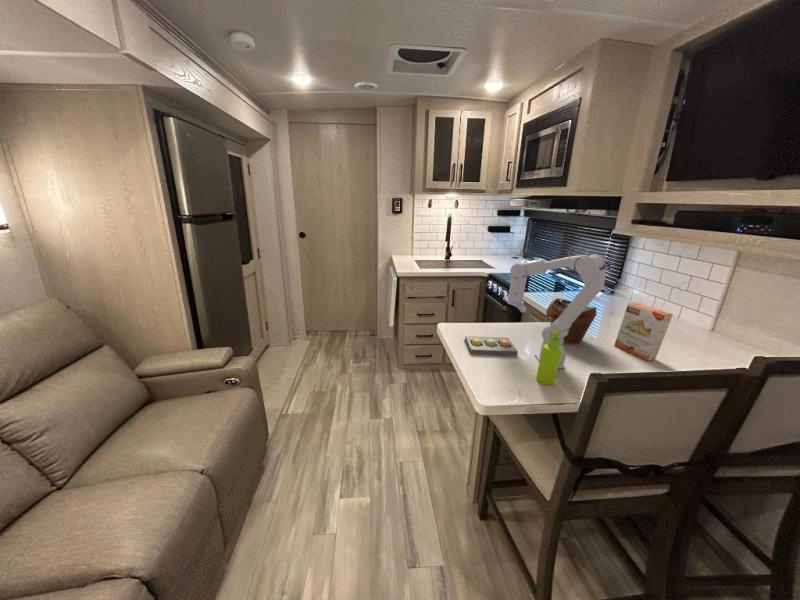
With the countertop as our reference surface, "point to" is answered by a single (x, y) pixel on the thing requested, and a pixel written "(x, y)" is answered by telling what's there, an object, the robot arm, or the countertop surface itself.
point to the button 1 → (476, 341)
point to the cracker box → (642, 330)
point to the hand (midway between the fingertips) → (510, 321)
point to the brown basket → (578, 325)
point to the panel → (490, 347)
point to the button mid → (490, 342)
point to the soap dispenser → (550, 359)
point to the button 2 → (504, 343)
